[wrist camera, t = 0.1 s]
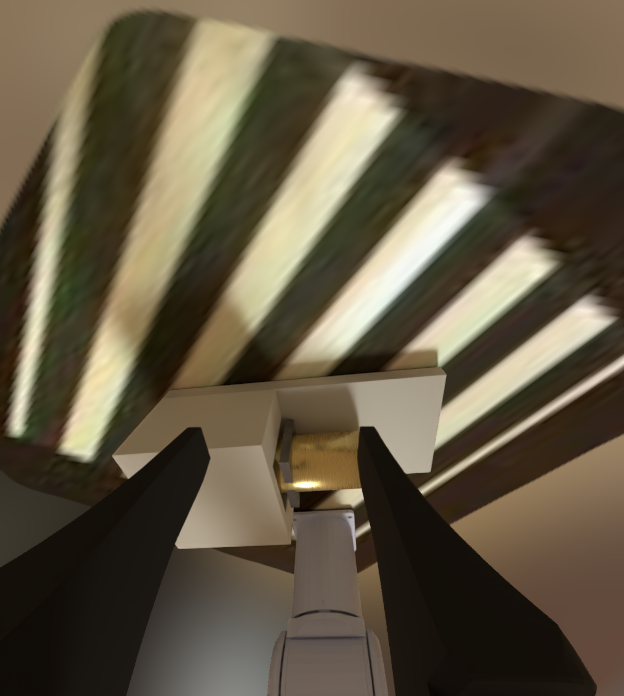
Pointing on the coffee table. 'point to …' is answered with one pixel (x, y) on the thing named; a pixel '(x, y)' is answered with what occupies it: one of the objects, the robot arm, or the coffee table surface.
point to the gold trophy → (315, 462)
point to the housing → (262, 434)
